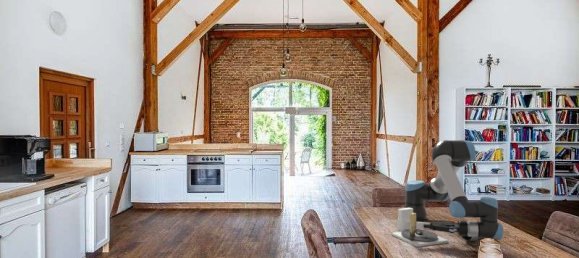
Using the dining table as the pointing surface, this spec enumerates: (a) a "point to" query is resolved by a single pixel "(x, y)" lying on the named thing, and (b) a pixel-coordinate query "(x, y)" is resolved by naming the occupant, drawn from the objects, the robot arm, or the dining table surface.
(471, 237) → the thermos bottle
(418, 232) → the cam dial
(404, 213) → the cylinder with rectangular tab
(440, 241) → the base plate
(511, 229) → the dining table surface
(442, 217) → the dining table surface
